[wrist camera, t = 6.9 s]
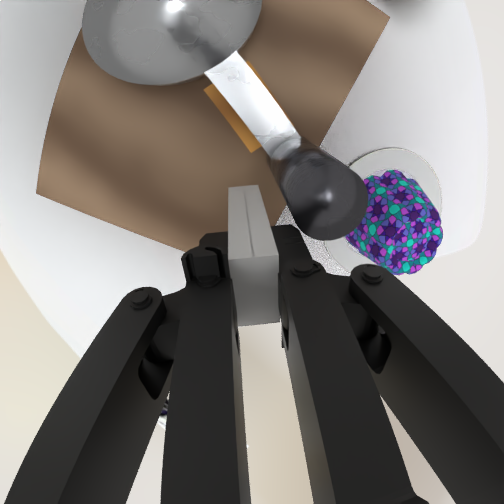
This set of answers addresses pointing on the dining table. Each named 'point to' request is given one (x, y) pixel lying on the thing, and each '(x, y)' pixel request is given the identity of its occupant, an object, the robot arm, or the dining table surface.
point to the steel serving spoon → (226, 93)
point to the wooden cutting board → (198, 124)
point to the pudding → (394, 215)
